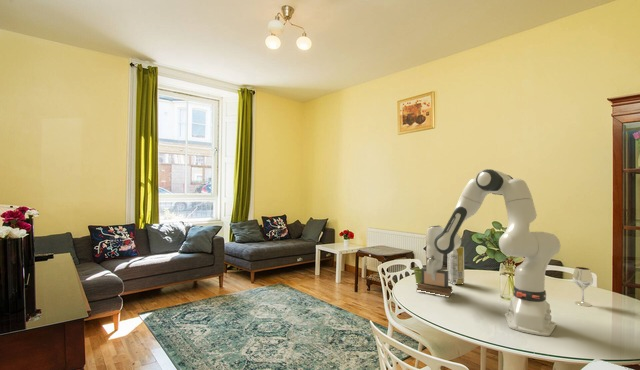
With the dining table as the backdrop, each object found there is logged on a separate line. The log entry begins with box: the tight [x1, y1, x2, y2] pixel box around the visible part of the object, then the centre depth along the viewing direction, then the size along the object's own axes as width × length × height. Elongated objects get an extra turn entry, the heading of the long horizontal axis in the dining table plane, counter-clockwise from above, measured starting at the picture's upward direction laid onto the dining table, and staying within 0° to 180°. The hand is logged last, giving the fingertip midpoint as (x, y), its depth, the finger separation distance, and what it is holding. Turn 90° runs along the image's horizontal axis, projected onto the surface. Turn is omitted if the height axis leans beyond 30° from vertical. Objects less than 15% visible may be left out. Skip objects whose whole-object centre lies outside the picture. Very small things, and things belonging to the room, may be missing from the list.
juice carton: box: [446, 246, 465, 285], centre depth 200 cm, size 9×8×24 cm
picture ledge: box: [416, 281, 453, 297], centre depth 181 cm, size 10×17×4 cm, turn 56°
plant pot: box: [413, 268, 422, 284], centre depth 196 cm, size 9×9×9 cm
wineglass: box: [572, 266, 594, 307], centre depth 164 cm, size 8×8×18 cm
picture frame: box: [421, 267, 449, 288], centre depth 181 cm, size 2×14×10 cm, turn 56°
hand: (434, 279), depth 181 cm, fingers closed on picture frame, 3 cm apart
